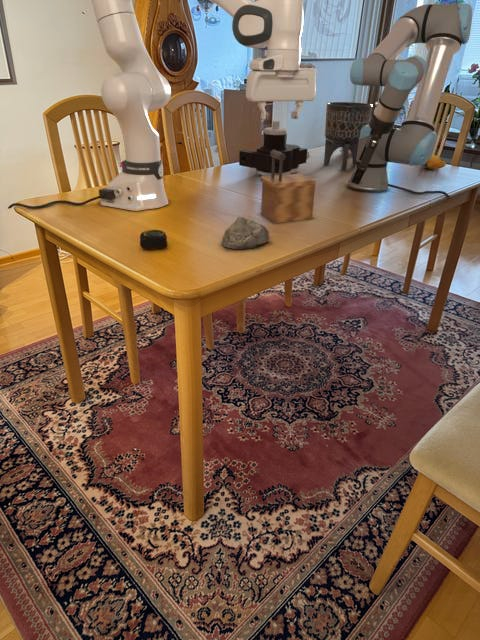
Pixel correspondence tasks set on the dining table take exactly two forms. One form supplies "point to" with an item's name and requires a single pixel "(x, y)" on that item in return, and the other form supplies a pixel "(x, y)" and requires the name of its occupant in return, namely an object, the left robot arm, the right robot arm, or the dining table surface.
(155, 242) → the tape measure
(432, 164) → the toy
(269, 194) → the chest
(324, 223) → the dining table surface
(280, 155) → the lid
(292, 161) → the mechanical component
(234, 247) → the rock
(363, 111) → the planter
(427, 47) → the right robot arm
